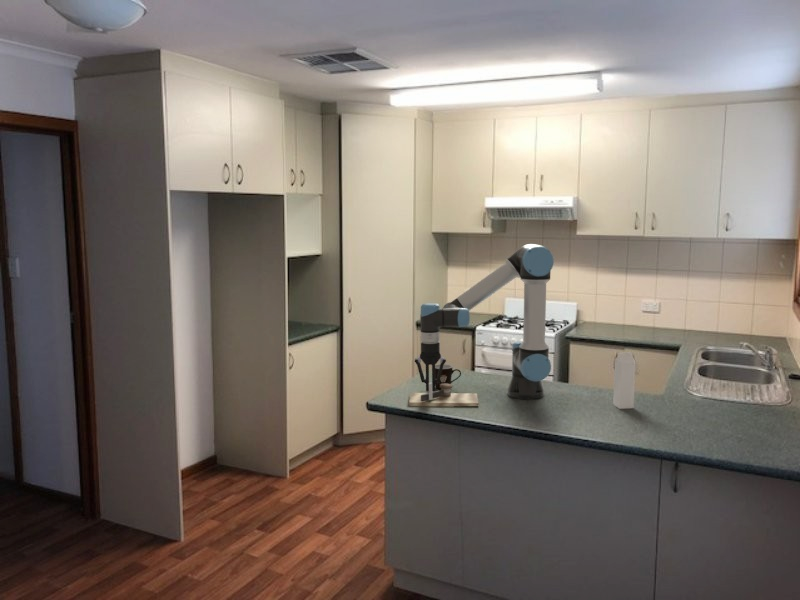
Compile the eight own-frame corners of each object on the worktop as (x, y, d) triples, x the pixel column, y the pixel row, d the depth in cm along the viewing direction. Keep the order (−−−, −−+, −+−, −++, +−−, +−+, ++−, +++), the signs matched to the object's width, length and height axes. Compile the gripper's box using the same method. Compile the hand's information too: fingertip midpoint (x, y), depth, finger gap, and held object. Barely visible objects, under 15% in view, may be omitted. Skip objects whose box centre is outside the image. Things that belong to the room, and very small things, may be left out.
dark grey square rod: (454, 395, 272) (454, 385, 272) (426, 403, 262) (426, 392, 261) (446, 392, 276) (446, 382, 276) (417, 400, 265) (417, 390, 265)
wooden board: (476, 396, 276) (476, 393, 276) (478, 406, 262) (478, 402, 262) (410, 396, 278) (410, 392, 278) (409, 405, 264) (409, 402, 264)
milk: (633, 408, 258) (636, 354, 255) (619, 409, 258) (621, 354, 255) (627, 403, 264) (629, 350, 261) (612, 404, 264) (615, 351, 261)
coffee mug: (430, 389, 288) (429, 367, 286) (438, 385, 295) (438, 363, 294) (454, 392, 282) (454, 370, 281) (461, 388, 290) (461, 366, 288)
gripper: (413, 343, 258) (414, 401, 261) (446, 343, 257) (446, 401, 260) (414, 340, 265) (415, 396, 268) (446, 340, 264) (446, 396, 267)
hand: (430, 398), depth 264 cm, fingers closed
